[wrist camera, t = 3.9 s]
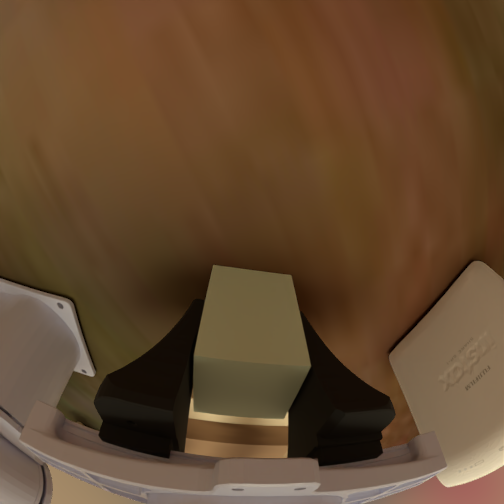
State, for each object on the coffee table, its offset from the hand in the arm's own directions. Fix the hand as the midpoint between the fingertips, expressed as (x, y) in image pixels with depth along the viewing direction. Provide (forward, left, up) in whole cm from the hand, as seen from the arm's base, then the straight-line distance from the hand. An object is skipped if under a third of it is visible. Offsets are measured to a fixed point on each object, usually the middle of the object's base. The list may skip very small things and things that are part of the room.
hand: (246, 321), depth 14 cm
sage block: (0, 0, -2) cm, 2 cm away
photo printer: (+14, 0, -2) cm, 14 cm away
